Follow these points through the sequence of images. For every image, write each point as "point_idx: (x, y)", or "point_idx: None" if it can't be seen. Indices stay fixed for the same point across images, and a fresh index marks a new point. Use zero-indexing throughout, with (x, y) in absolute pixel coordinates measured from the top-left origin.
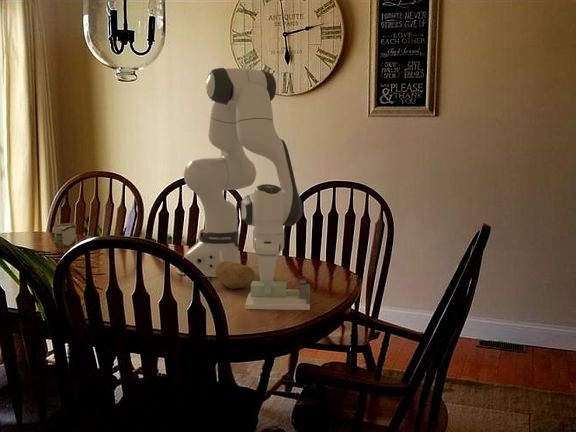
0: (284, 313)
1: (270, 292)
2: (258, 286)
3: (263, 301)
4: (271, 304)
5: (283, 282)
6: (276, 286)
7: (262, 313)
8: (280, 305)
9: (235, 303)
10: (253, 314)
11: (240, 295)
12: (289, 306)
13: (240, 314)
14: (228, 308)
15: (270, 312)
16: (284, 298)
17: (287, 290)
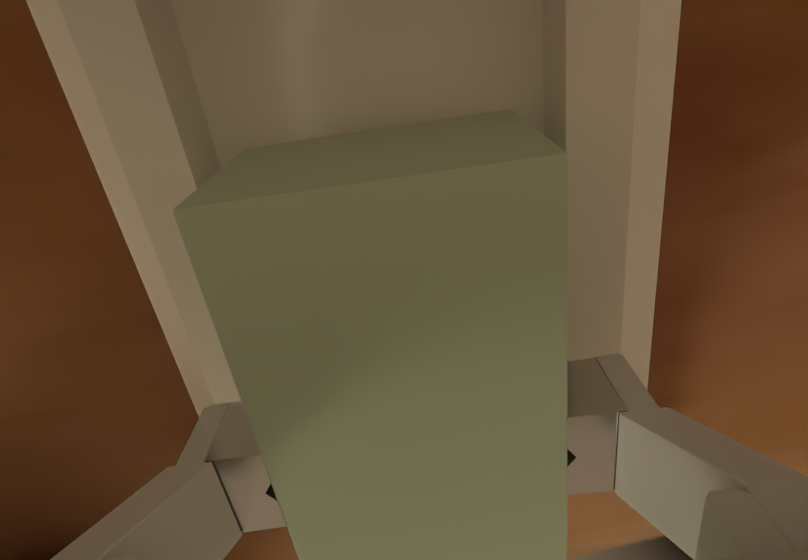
0: (799, 58)
1: (620, 356)
2: (561, 550)
3: None
4: (630, 260)
5: (284, 256)
6: (561, 332)
7: (766, 295)
8: (668, 147)
9: None
10: (786, 362)
11: (249, 545)
12: (674, 15)
13: (771, 451)
14: (609, 547)
15: (741, 226)
16: (624, 119)
17: (172, 146)
